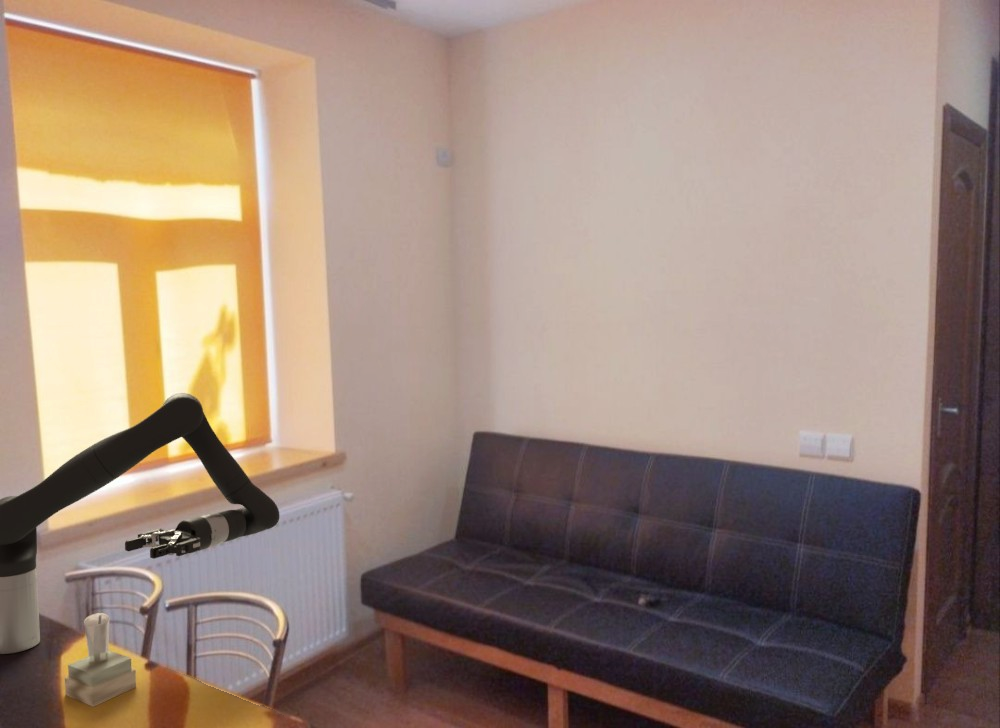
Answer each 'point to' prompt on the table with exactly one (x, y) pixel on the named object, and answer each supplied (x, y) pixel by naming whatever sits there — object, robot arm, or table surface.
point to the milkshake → (97, 637)
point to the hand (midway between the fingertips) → (138, 550)
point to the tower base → (100, 689)
